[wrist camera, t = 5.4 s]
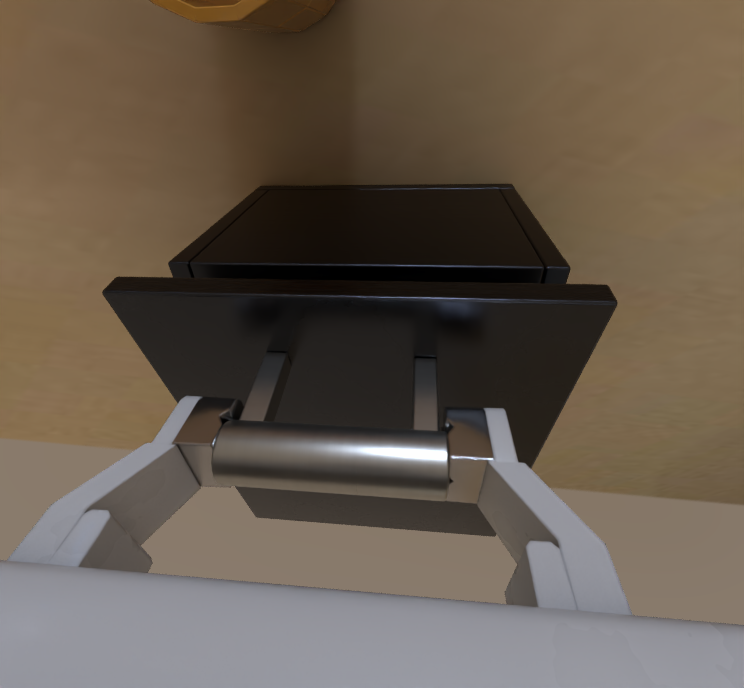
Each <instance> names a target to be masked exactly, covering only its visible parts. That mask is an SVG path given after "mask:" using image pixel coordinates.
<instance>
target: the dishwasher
mask: <svg viewBox="0 0 744 688" xmlns="http://www.w3.org/2000/svg"><path fill="white" fill-rule="evenodd" d="M168 265H169V267H170V270H171V273H172V275H173V278H229V279H290V280H351V281H412V282H474V283H535V284H566V282H567V279H568V275H569V272H570V266H569V265H568V263H567V262H566V260H565V259H564V258H563V256H562V255H561V253H560V252H559V251H558V249H557V248H556V246H555V245H554V243H553V242H552V241H551V239H550V238H549V236H548V235H547V234H546V232H545V231H544V229H543V228H542V226H541V225H540V224H539V222H538V221H537V219H536V218H535V217H534V215H533V214H532V212H531V211H530V209H529V208H528V207H527V205H526V204H525V202H524V201H523V200H522V198H521V197H520V195H519V194H518V192H517V191H516V190H515V188H514V186H513V185H512V184H441V185H325V186H259V187H258V188H257V189H256V190H255V191H254V192H252V193H251V194H250V195H249V196H248V197H246V198H245V199H244V200H243V201H242V202H240V203H239V204H238V205H237V206H235V207H234V208H233V209H232V210H231V211H229V212H228V213H227V214H226V215H225V216H223V217H222V218H221V219H220V220H219V221H217V222H216V223H215V224H214V225H213V226H211V227H210V228H209V229H208V230H207V231H205V232H204V233H203V234H202V235H201V236H199V237H198V238H197V239H196V240H195V241H193V242H192V243H191V244H190V245H189V246H187V247H186V248H185V249H184V250H183V251H181V252H180V253H179V254H178V255H177V256H175V257H174V258H173V259H172V260H171V261H169V263H168Z"/></svg>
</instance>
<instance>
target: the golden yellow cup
mask: <svg viewBox="0 0 744 688" xmlns="http://www.w3.org/2000/svg"><path fill="white" fill-rule="evenodd" d="M149 1H151V2H152V3H153V4H155V5H158V6H160V7H162V8H164V9H166V10H169V11H171V12H173V13H175V14H177V15H180V16H182V17H184V18H186V19H188V20H191V21H193V22H195V23H200V24H207V25H215V26H222V27H229V28H237V29H245V30H252V31H260V32H267V33H290V32H299V31H302V30H304V29H306V28H307V27H309V26H310V25H312V24H313V23H315V22H317V21H318V20H320V19H321V18H323V17H324V16H325V14H326V15H327V14H328V12H329V11H330V9H331V7H332V6H333V4H334V3H335V1H336V0H149Z"/></svg>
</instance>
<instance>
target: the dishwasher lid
mask: <svg viewBox="0 0 744 688" xmlns="http://www.w3.org/2000/svg"><path fill="white" fill-rule="evenodd" d="M102 293H103V295H104V297H105V298H106V300H107V301H108V303H109V304H110V306H111V307H112V308H113V310H114V311H115V313H116V314H117V316H118V317H119V319H120V320H121V322H122V323H123V324H124V326H125V327H126V329H127V330H128V332H129V333H130V335H131V336H132V338H133V339H134V340H135V342H136V343H137V345H138V346H139V348H140V349H141V351H142V352H143V354H144V355H145V356H146V358H147V359H148V361H149V362H150V364H151V365H152V367H153V368H154V370H155V371H156V372H157V374H158V375H159V377H160V378H161V380H162V381H163V383H164V384H165V385H166V387H167V388H168V390H169V391H170V393H171V394H172V396H173V397H174V399H175V400H176V401H177V403H179V401H180V400H181V399H182V398H184V397H185V396H199V397H218V398H233V399H240V400H241V401H242V403H243V406H244V408H243V411H242V413H241V416H240V418H239V420H230V421H227V422H226V423H225V424H224V425H223V426H222V428H221V429H220V431H219V433H218V435H217V438H216V441H215V444H214V448H213V451H212V460H211V466H212V474H213V477H214V479H215V481H216V482H217V483H218V484H220V485H224V486H235V487H236V489H237V490H238V491H239V493H240V494H241V496H242V497H243V499H244V500H245V502H246V503H247V505H248V506H249V508H250V509H251V510H252V512H253V513H254V515H255V516H256V517H259V518H270V519H283V520H295V521H307V522H320V523H333V524H345V525H358V526H369V527H382V528H394V529H407V530H420V531H432V532H444V533H456V534H469V535H481V536H496V532H495V531H494V529H493V528H492V526H491V525H490V524H489V522H488V521H487V519H486V518H485V516H484V515H483V513H482V512H481V510H480V509H479V507H478V506H477V504H474V503H463V502H452V501H446V499H447V497H448V491H449V478H450V464H449V451H448V440H447V433H446V432H445V431H441V428H442V427H443V411H444V407H445V406H446V407H482V408H503V409H504V410H505V411H506V415H507V419H508V423H509V427H510V431H511V435H512V439H513V443H514V447H515V451H516V455H517V459H518V462H520V463H525V464H526V465H527V466H528V467H529V468H530V469H531V468H532V466H533V464H534V462H535V460H536V458H537V456H538V454H539V453H540V451H541V449H542V447H543V445H544V443H545V441H546V439H547V437H548V436H549V434H550V432H551V430H552V428H553V426H554V424H555V422H556V420H557V418H558V417H559V415H560V413H561V411H562V409H563V407H564V405H565V403H566V401H567V399H568V398H569V396H570V394H571V392H572V390H573V388H574V386H575V384H576V382H577V380H578V379H579V377H580V375H581V373H582V371H583V369H584V367H585V365H586V363H587V362H588V360H589V358H590V356H591V354H592V352H593V350H594V348H595V346H596V344H597V343H598V341H599V339H600V337H601V335H602V333H603V331H604V329H605V327H606V325H607V324H608V322H609V320H610V318H611V316H612V314H613V312H614V310H615V308H616V306H617V300H616V298H615V296H614V295H613V293H612V291H611V289H610V288H609V286H607V285H596V284H535V283H474V282H412V281H351V280H290V279H229V278H168V277H116V278H115V279H114V280H113V281H112V282H111V283H110V284H109V285H108V286H107V287H106V288H105V289H104V290H103V292H102Z"/></svg>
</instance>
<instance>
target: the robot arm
mask: <svg viewBox="0 0 744 688" xmlns="http://www.w3.org/2000/svg"><path fill="white" fill-rule="evenodd" d="M243 408H244V406H243V403H242V401H241V400H240V399H233V398H218V397H199V396H185V397H184V398H182V399H181V400H180V401H179V403H178V404H177V406H176V407H175V409H174V410H173V412H172V413H171V415H170V416H169V418H168V419H167V421H166V422H165V424H164V425H163V427H162V428H161V430H160V431H159V433H158V434H157V436H156V437H155V439H154V440H153V442H152V443H145V444H144V445H142V446H141V447H139V448H138V449H136V450H135V451H133V452H132V453H130V454H129V455H127V456H125V457H124V458H122V459H121V460H119V461H118V462H116V463H115V464H113V465H111V466H110V467H108V468H107V469H105V470H104V471H103V472H101V473H99V474H98V475H96V476H94V477H93V478H91V479H90V480H88V481H87V482H85V483H84V484H83V485H81V486H79V487H78V488H76V489H74V490H73V491H71V492H70V493H68V494H67V495H65V496H64V497H62V498H61V499H59V500H57V501H56V502H54V503H53V504H51V506H50V507H49V508H48V509H47V511H46V512H45V513H44V514H43V516H42V517H41V518H40V519H39V521H38V522H37V523H36V524H35V526H34V527H33V528H32V529H31V531H30V532H29V533H28V534H27V536H26V537H25V538H24V540H23V541H22V542H21V543H20V545H19V546H18V547H17V549H15V551H14V552H13V553H12V555H11V556H10V557H9V558H8V560H7V561H4V560H0V688H744V625H738V624H726V623H715V622H703V621H691V620H681V619H669V618H658V617H647V616H635V615H632V612H631V610H630V607H629V604H628V602H627V599H626V596H625V594H624V591H623V588H622V586H621V583H620V581H619V578H618V575H617V573H616V570H615V567H614V565H613V562H612V559H611V557H610V554H609V552H608V549H607V546H606V544H605V543H604V542H603V541H602V540H601V539H600V538H599V537H598V536H597V535H596V534H595V533H594V532H593V531H592V530H591V529H590V528H589V527H588V526H587V525H586V524H585V523H584V522H583V521H582V520H581V519H580V518H579V517H578V516H577V515H576V514H575V513H574V512H573V511H572V510H571V509H570V508H569V507H568V506H567V505H566V504H565V503H564V502H563V501H562V500H561V499H560V498H559V497H558V496H557V495H556V494H555V493H554V492H553V491H552V490H551V489H550V488H549V487H548V486H547V485H546V484H545V483H544V482H543V481H542V480H541V479H540V478H539V477H538V476H537V475H536V474H535V473H534V472H533V471H532V470H531V469H530V468H529V467H528V466H527V465H526V464H525V463H520V462H518V459H517V455H516V451H515V447H514V443H513V439H512V435H511V431H510V427H509V423H508V419H507V415H506V411H505V410H504V409H503V408H482V407H446V406H445V407H444V411H443V427H442V428H441V431H445V432H446V433H447V440H448V451H449V464H450V478H449V491H448V497H447V499H446V501H452V502H463V503H474V504H477V506H478V507H479V509H480V510H481V512H482V513H483V515H484V516H485V518H486V519H487V521H488V522H489V524H490V525H491V526H492V528H493V529H494V531H495V532H496V534H497V535H498V537H499V538H500V540H501V541H502V543H503V544H504V545H505V547H506V548H507V550H508V551H509V553H510V554H511V556H512V557H513V559H514V560H515V562H516V563H517V567H516V569H515V571H514V573H513V575H512V578H511V580H510V582H509V584H508V586H507V589H506V591H505V597H506V603H507V604H498V603H487V602H475V601H464V600H451V599H441V598H429V597H418V596H406V595H395V594H383V593H372V592H361V591H349V590H338V589H326V588H315V587H304V586H292V585H281V584H270V583H258V582H246V581H234V580H224V579H213V578H200V577H190V576H178V575H166V574H154V573H148V571H149V569H150V567H151V565H152V560H151V557H150V556H149V555H148V554H147V552H146V551H145V550H144V549H143V548H142V547H141V545H142V544H143V543H144V542H145V541H146V540H147V539H148V538H149V537H150V536H151V535H152V534H153V533H154V532H155V531H156V530H157V529H158V528H160V527H161V526H162V525H163V524H164V523H165V522H166V521H167V520H168V519H169V518H170V517H171V516H172V515H173V514H174V513H175V512H176V511H177V510H178V509H180V508H181V507H182V506H183V505H184V504H185V503H186V502H187V501H188V500H189V499H190V498H191V497H192V496H193V495H194V494H195V493H196V492H197V491H198V490H199V489H200V486H205V487H231V486H224V485H220V484H218V483H217V482H216V481H215V479H214V477H213V474H212V466H211V460H212V451H213V448H214V444H215V441H216V438H217V435H218V433H219V431H220V429H221V428H222V426H223V425H224V424H225V423H226V422H227V421H230V420H239V418H240V416H241V413H242V411H243Z"/></svg>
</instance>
